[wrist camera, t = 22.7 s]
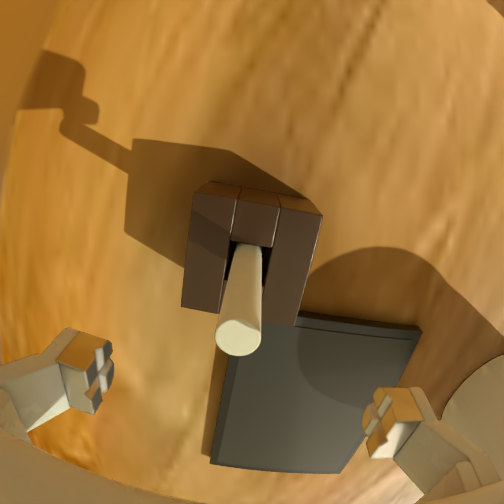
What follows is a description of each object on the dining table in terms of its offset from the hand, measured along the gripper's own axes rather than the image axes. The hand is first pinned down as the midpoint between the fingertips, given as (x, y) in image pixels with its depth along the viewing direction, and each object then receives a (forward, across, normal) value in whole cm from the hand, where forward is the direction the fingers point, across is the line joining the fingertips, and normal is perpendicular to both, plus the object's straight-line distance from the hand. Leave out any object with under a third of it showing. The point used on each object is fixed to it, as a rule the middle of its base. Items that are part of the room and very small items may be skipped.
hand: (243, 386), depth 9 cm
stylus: (+15, +1, 0) cm, 15 cm away
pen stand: (+15, 0, 0) cm, 15 cm away
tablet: (+15, -8, +16) cm, 24 cm away
